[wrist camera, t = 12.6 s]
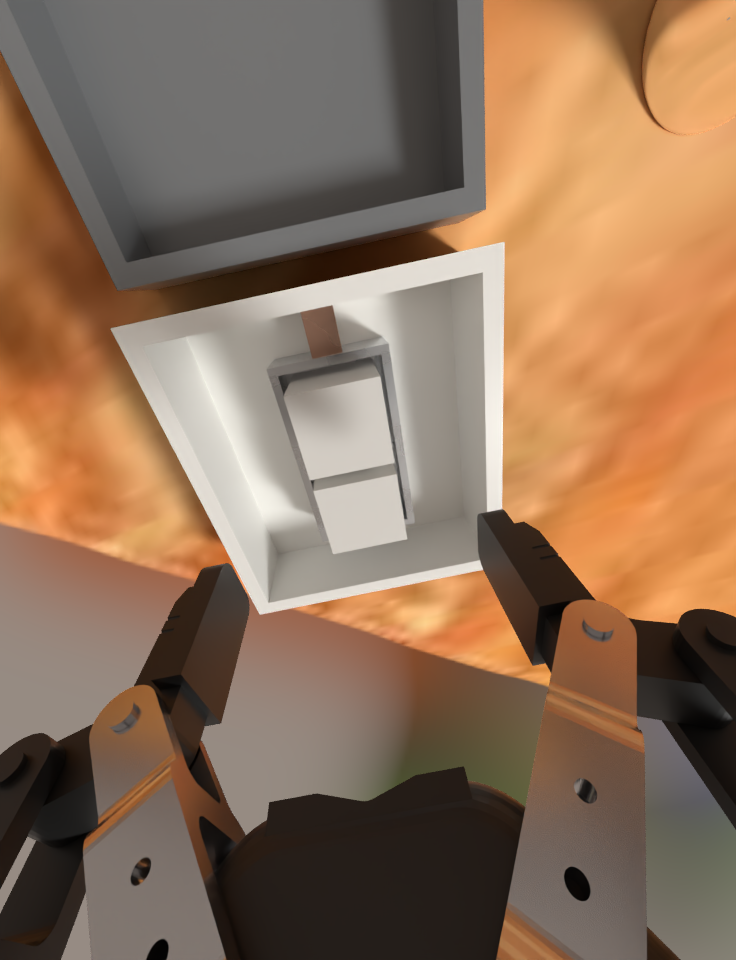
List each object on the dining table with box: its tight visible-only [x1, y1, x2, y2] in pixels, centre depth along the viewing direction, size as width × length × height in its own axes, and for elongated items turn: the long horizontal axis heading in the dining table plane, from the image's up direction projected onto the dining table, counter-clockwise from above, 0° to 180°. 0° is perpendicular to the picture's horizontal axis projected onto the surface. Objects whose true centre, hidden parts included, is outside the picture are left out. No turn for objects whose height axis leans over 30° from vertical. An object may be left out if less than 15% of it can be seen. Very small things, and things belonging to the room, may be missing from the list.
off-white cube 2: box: [313, 463, 407, 554], centre depth 19 cm, size 4×4×4 cm
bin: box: [110, 242, 504, 614], centre depth 19 cm, size 16×15×5 cm
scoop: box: [266, 305, 415, 542], centre depth 19 cm, size 12×6×2 cm, turn 11°
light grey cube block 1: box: [283, 358, 395, 480], centre depth 17 cm, size 4×4×4 cm
